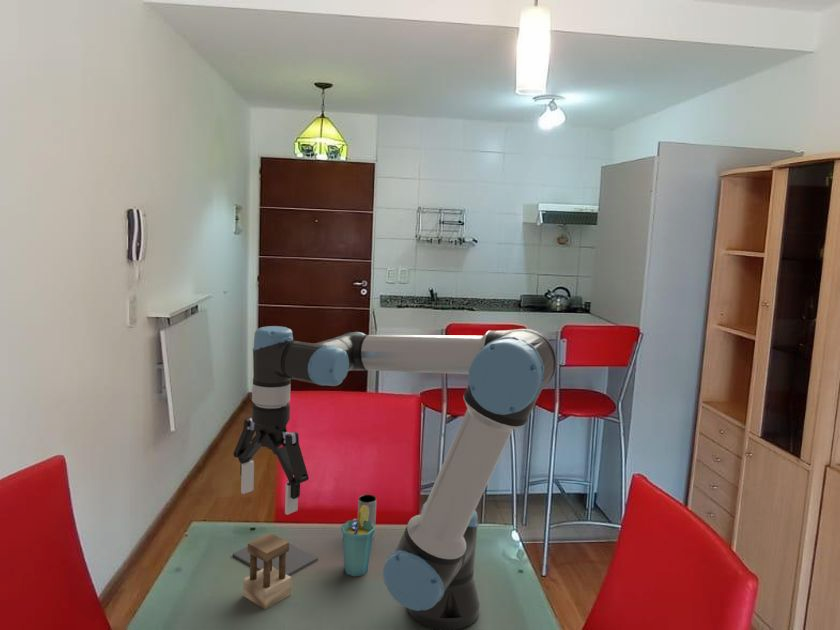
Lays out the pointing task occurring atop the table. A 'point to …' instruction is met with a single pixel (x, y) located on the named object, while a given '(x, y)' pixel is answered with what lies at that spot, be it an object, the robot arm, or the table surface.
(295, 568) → the mat
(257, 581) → the oak block
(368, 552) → the cup
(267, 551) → the stool
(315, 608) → the table surface
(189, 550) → the table surface
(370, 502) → the grey hollow cylinder
